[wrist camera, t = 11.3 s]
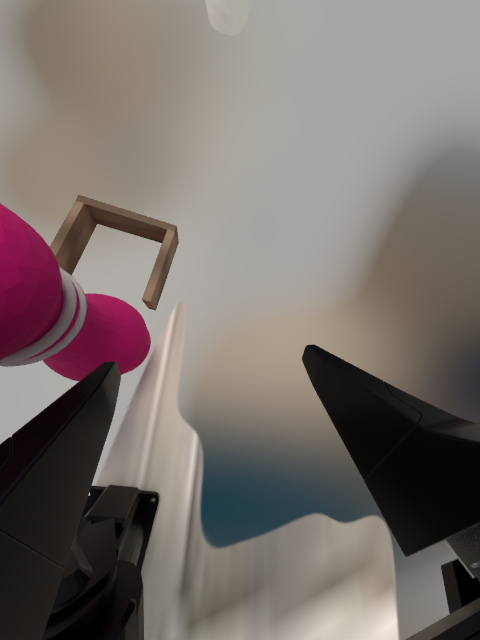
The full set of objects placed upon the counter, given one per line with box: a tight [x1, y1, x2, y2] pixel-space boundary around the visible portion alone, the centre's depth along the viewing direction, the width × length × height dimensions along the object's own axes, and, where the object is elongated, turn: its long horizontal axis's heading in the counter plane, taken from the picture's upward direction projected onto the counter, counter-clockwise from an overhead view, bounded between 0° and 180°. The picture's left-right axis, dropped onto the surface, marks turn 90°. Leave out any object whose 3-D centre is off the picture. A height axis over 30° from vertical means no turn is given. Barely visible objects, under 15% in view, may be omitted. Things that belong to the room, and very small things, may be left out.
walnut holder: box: [50, 195, 178, 310], centre depth 22 cm, size 9×10×3 cm
